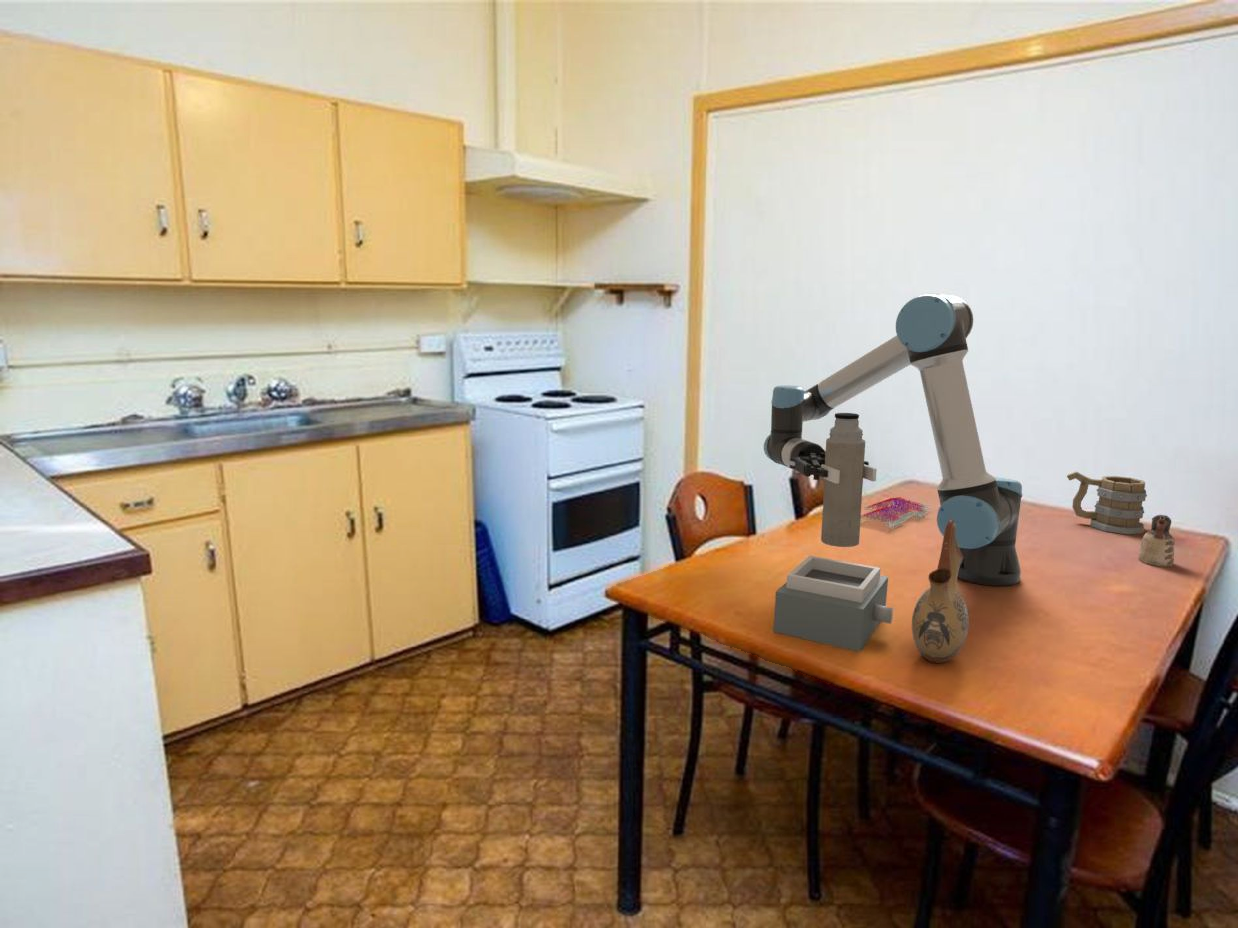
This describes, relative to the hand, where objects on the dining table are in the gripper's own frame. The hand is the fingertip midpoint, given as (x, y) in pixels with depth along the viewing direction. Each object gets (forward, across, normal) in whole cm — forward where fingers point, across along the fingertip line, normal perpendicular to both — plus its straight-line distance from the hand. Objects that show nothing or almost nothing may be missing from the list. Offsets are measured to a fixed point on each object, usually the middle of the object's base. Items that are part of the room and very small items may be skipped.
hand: (856, 475), depth 161 cm
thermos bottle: (-5, 0, -16) cm, 17 cm away
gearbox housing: (+14, +11, -26) cm, 31 cm away
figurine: (-4, -86, -27) cm, 90 cm away
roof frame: (-53, -45, -26) cm, 74 cm away
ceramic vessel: (+31, +1, -26) cm, 41 cm away
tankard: (-33, -100, -26) cm, 109 cm away
